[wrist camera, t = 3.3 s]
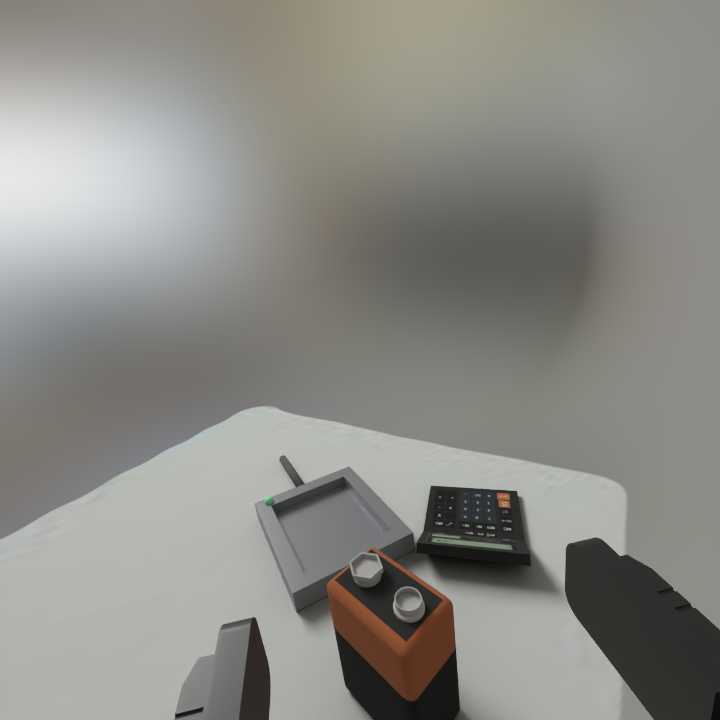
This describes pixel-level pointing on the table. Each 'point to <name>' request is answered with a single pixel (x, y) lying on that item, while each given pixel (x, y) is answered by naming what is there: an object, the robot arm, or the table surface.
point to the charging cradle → (327, 530)
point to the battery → (394, 640)
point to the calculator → (474, 525)
